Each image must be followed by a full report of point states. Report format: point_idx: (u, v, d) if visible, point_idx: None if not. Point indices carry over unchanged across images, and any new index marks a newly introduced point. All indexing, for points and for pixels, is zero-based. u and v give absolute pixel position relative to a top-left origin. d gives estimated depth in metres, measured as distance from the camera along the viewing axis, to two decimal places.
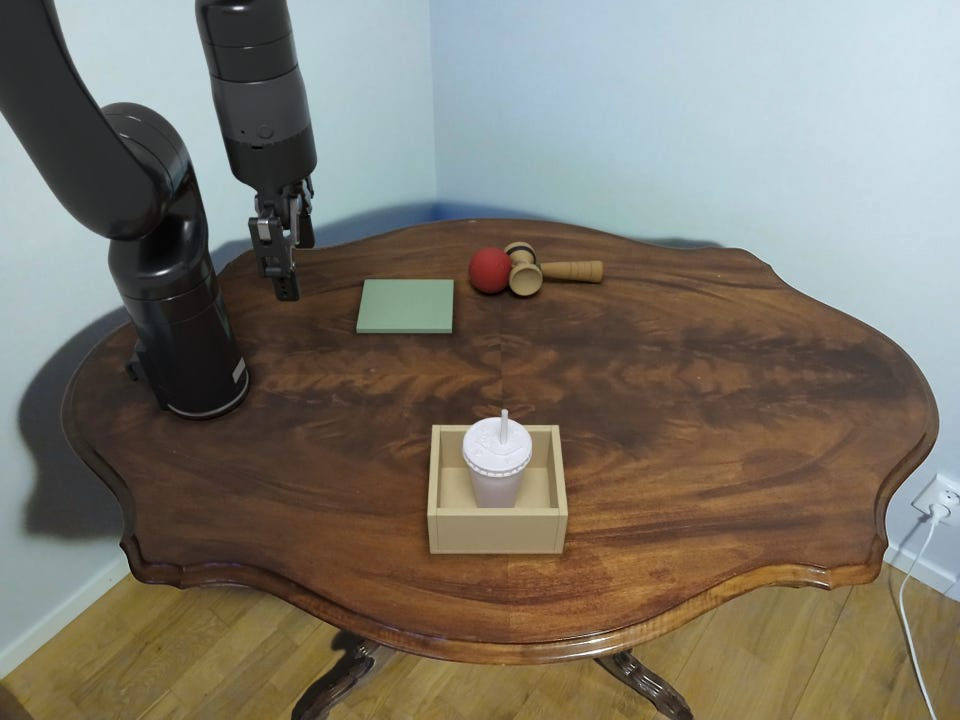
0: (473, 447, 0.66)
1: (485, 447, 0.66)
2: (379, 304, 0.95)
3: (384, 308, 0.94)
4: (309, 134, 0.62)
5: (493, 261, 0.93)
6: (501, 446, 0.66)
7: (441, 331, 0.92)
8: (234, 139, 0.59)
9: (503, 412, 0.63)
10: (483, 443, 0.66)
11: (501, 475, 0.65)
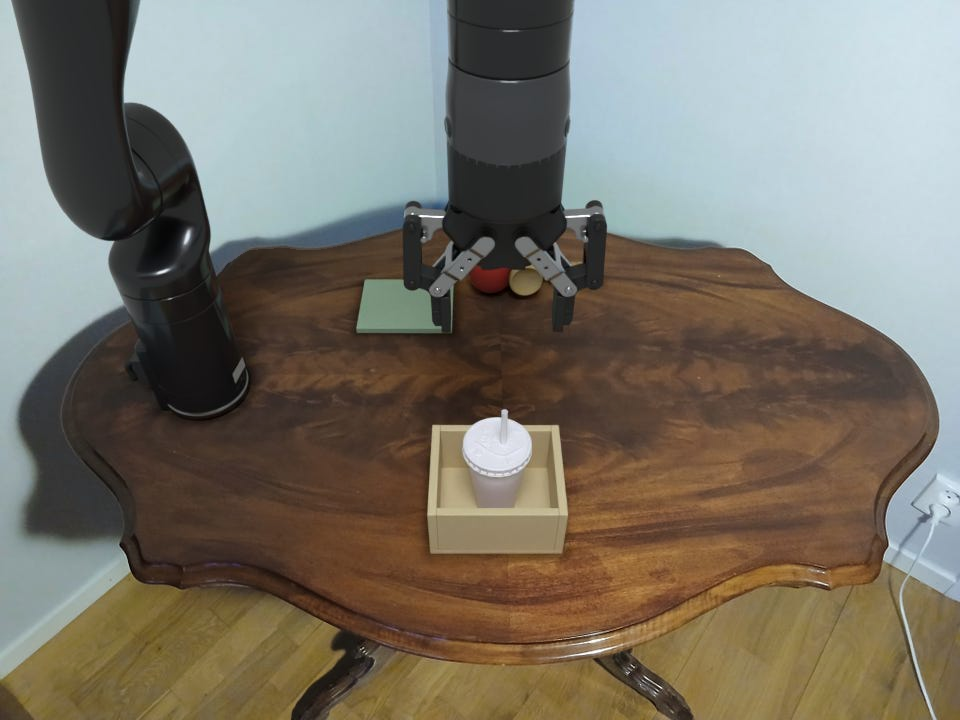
0: (473, 447, 0.66)
1: (485, 447, 0.66)
2: (379, 304, 0.95)
3: (384, 308, 0.94)
4: (497, 176, 0.43)
5: None
6: (501, 446, 0.66)
7: (441, 331, 0.92)
8: None
9: (503, 412, 0.63)
10: (483, 443, 0.66)
11: (501, 475, 0.65)
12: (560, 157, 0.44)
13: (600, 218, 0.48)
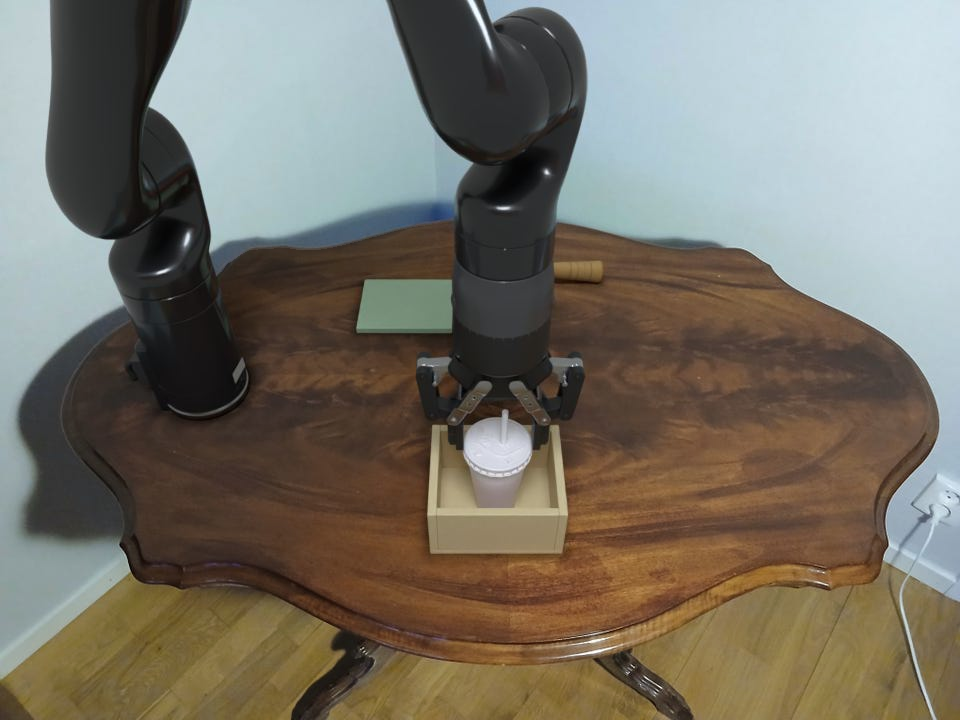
0: (474, 447, 0.66)
1: (485, 447, 0.66)
2: (379, 304, 0.95)
3: (384, 308, 0.94)
4: (494, 345, 0.53)
5: None
6: (501, 446, 0.66)
7: (441, 331, 0.92)
8: None
9: (504, 412, 0.63)
10: (483, 443, 0.66)
11: (501, 475, 0.65)
12: (546, 326, 0.54)
13: (580, 371, 0.58)
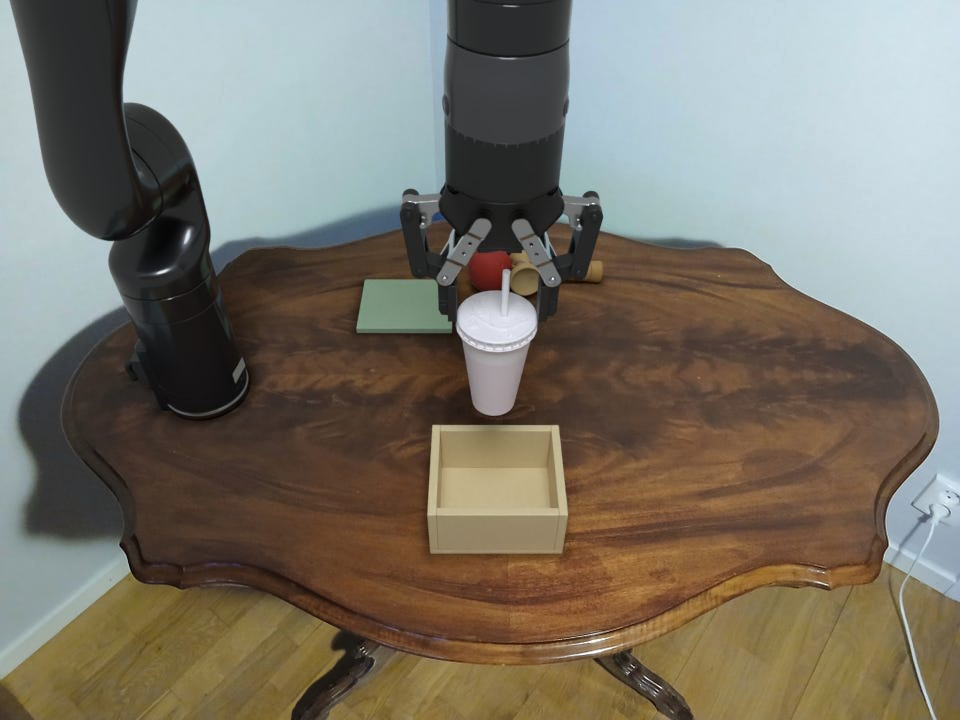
0: (469, 319, 0.56)
1: (482, 320, 0.56)
2: (379, 304, 0.95)
3: (384, 308, 0.94)
4: (495, 155, 0.43)
5: (493, 261, 0.93)
6: (501, 318, 0.56)
7: (441, 331, 0.92)
8: None
9: (505, 272, 0.53)
10: (480, 315, 0.56)
11: (501, 350, 0.55)
12: (558, 138, 0.44)
13: (598, 209, 0.48)
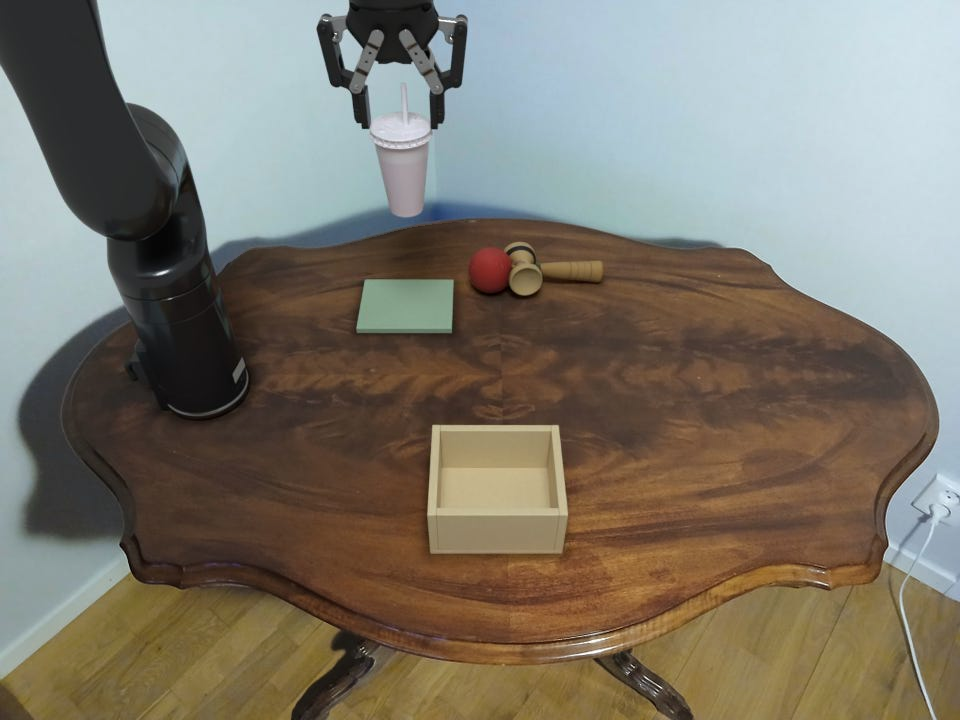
0: (379, 128, 0.73)
1: (389, 127, 0.73)
2: (379, 304, 0.95)
3: (384, 308, 0.94)
4: None
5: (493, 261, 0.93)
6: (403, 126, 0.73)
7: (441, 331, 0.92)
8: None
9: (402, 84, 0.70)
10: (387, 125, 0.73)
11: (401, 147, 0.72)
12: None
13: (463, 23, 0.65)
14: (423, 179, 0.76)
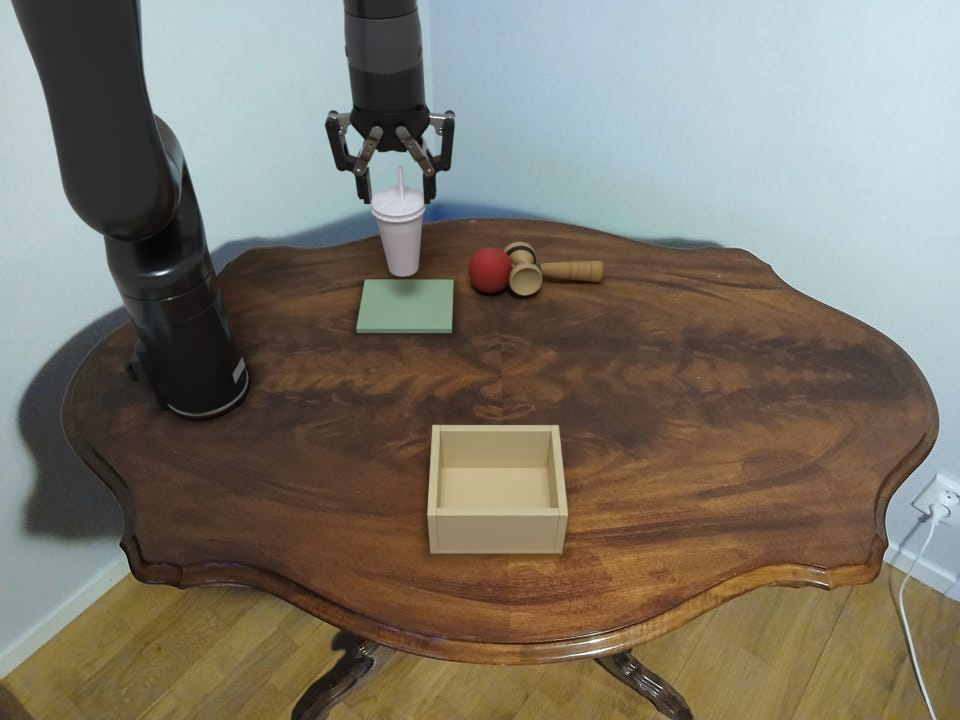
0: (379, 202, 0.84)
1: (387, 202, 0.84)
2: (379, 304, 0.95)
3: (384, 308, 0.94)
4: (376, 81, 0.71)
5: (493, 261, 0.93)
6: (400, 201, 0.83)
7: (441, 331, 0.92)
8: None
9: (399, 167, 0.81)
10: (386, 200, 0.84)
11: (399, 221, 0.82)
12: (416, 71, 0.72)
13: (450, 120, 0.76)
14: (418, 244, 0.87)
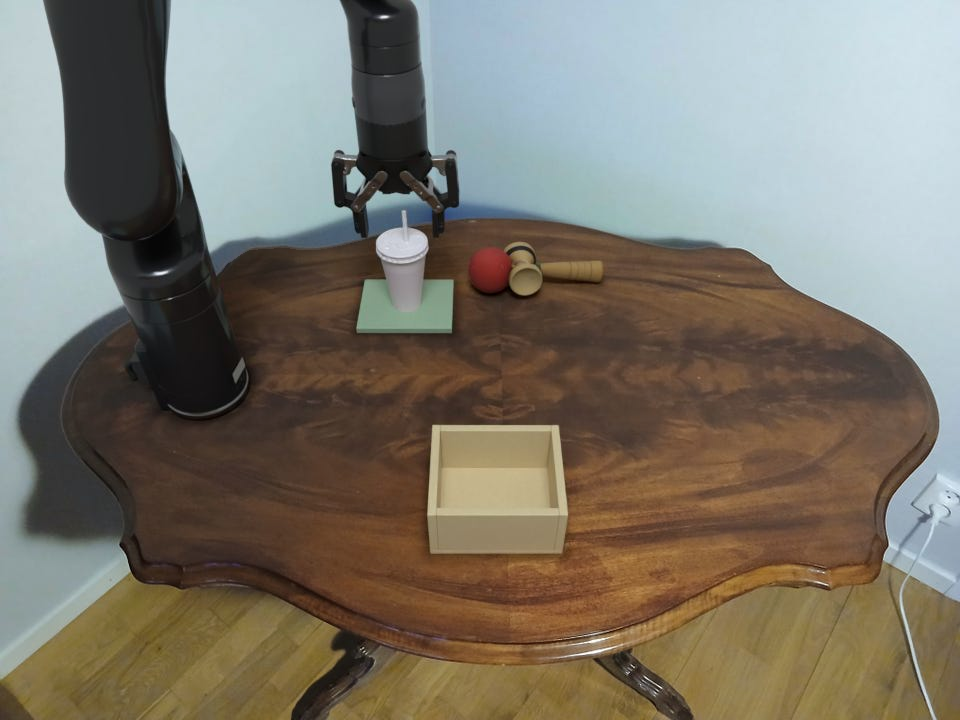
0: (383, 244, 0.88)
1: (392, 244, 0.88)
2: (379, 304, 0.95)
3: (384, 308, 0.94)
4: (381, 131, 0.74)
5: (493, 261, 0.93)
6: (404, 243, 0.88)
7: (441, 331, 0.92)
8: None
9: (403, 211, 0.85)
10: (391, 241, 0.88)
11: (402, 262, 0.86)
12: (420, 121, 0.75)
13: (451, 160, 0.79)
14: (421, 282, 0.91)
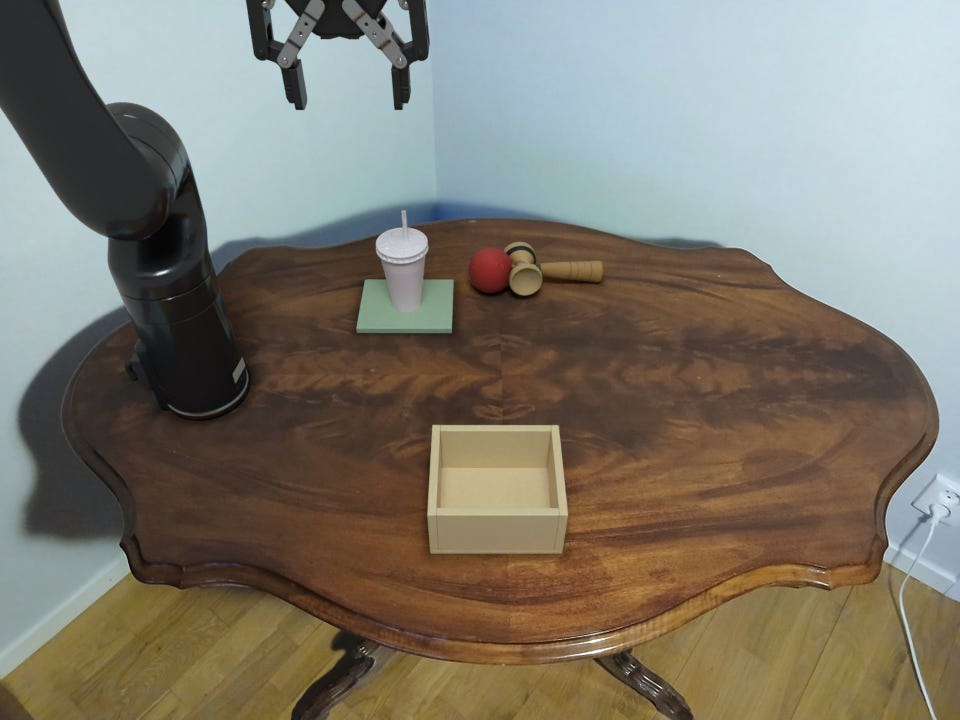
0: (383, 244, 0.88)
1: (392, 244, 0.88)
2: (379, 304, 0.95)
3: (384, 308, 0.94)
4: None
5: (493, 261, 0.93)
6: (404, 243, 0.88)
7: (441, 331, 0.92)
8: None
9: (403, 212, 0.85)
10: (391, 241, 0.88)
11: (402, 262, 0.86)
12: None
13: None
14: (421, 283, 0.91)
